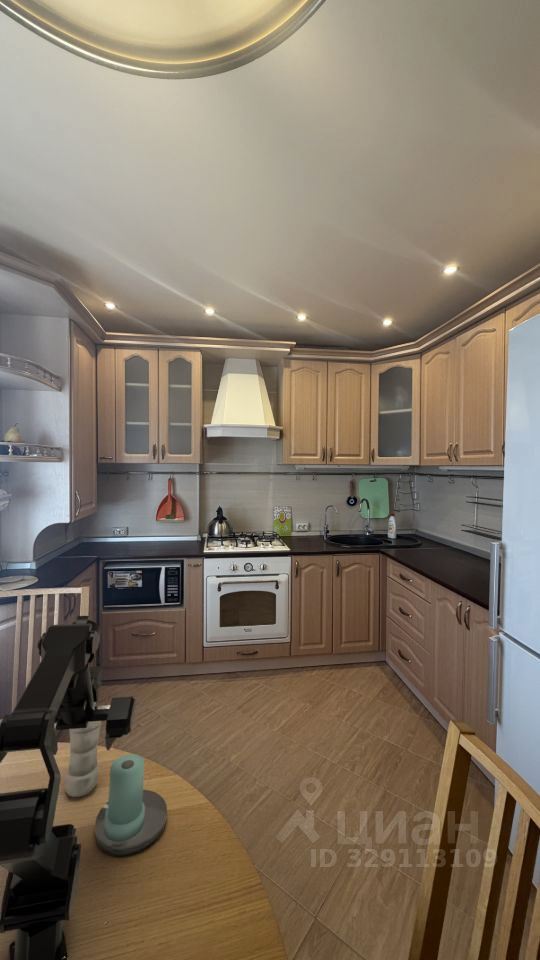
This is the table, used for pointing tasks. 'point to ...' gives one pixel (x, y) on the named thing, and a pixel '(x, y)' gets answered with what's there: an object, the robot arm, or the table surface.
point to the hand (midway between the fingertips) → (82, 750)
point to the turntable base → (129, 852)
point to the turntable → (149, 831)
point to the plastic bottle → (83, 760)
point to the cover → (125, 799)
